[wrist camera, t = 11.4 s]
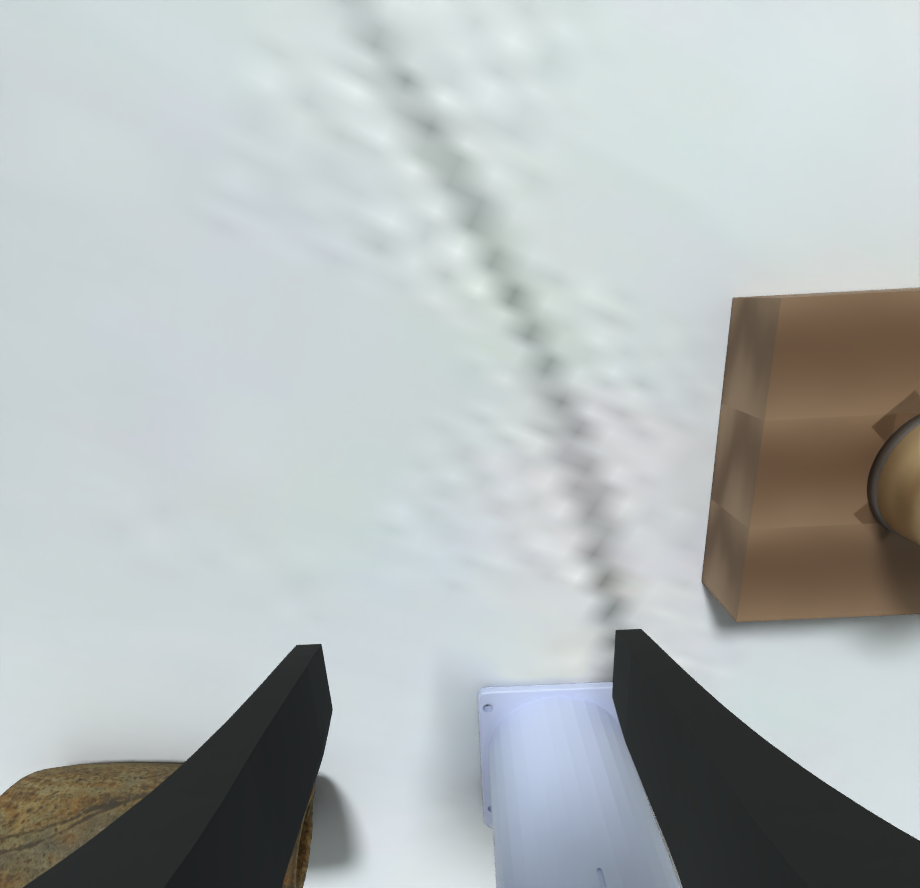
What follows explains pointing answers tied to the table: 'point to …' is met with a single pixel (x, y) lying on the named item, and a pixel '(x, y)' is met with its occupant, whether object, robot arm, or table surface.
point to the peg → (898, 482)
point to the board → (812, 456)
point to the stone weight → (88, 816)
